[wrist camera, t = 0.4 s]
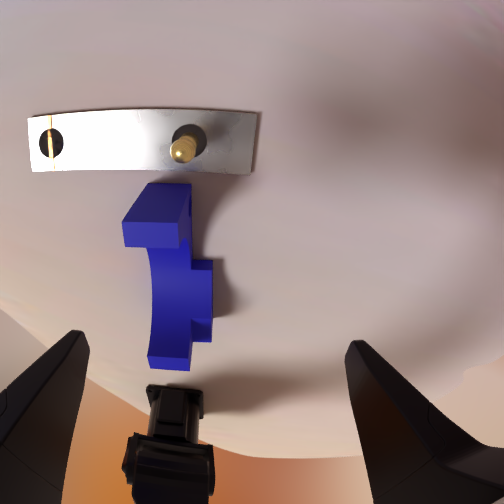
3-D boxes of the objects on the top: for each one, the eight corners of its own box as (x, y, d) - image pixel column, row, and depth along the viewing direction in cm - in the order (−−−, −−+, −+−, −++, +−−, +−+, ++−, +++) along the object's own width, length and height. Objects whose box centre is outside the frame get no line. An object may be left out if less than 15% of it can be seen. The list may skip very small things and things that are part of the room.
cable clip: (212, 316, 27) (210, 371, 22) (161, 314, 27) (150, 368, 22) (214, 183, 21) (207, 223, 16) (148, 182, 20) (121, 221, 15)
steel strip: (250, 173, 20) (253, 194, 17) (35, 169, 19) (8, 188, 16) (256, 113, 18) (261, 122, 15) (30, 117, 17) (0, 129, 13)
